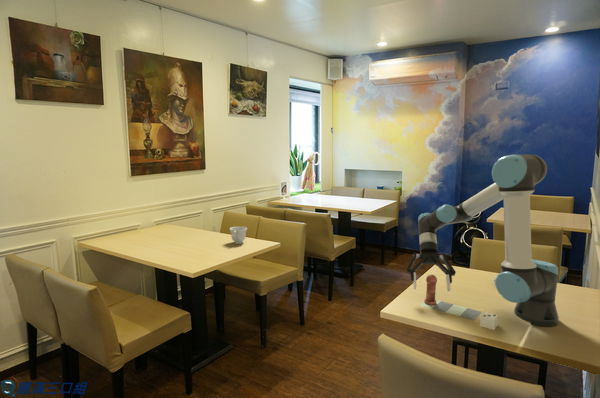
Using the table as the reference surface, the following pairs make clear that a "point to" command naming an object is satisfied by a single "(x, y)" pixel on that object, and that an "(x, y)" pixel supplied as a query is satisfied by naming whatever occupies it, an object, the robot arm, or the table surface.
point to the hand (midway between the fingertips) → (431, 289)
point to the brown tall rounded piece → (430, 290)
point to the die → (489, 320)
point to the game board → (454, 309)
